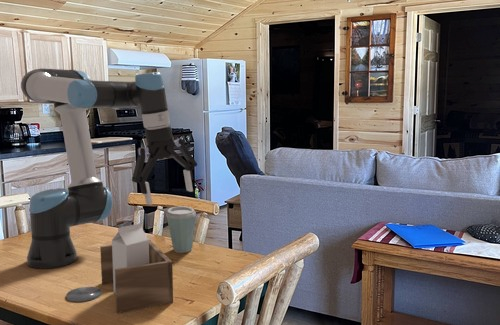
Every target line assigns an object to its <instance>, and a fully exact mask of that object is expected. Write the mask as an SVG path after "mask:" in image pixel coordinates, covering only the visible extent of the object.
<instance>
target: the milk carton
mask: <svg viewBox="0 0 500 325" xmlns="http://www.w3.org/2000/svg"><path fill="white" fill-rule="evenodd" d="M117 229H118V230H117V233H116V234H115V236H113V238H112V239H111V245H112V257H113V283H112V284H113V293H114V294H116V290H115V269H119V268H125V267H132V266H138V265H145V264H149V240H150V239H149V238H148V236H147V234H146V232H145V230H144V229H143V227H142V223H141V222H140V223H136V224H135V223H134V224H130V225H127V226H121V227H117Z"/></svg>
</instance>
